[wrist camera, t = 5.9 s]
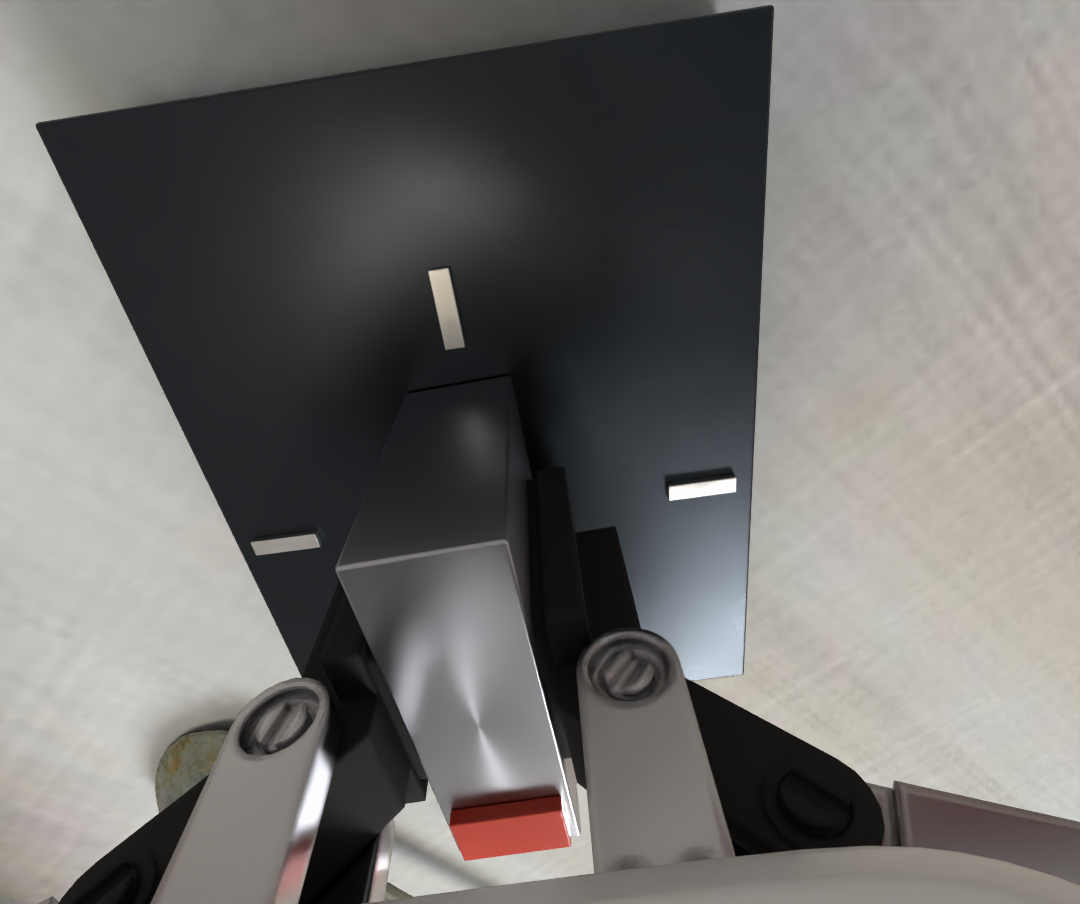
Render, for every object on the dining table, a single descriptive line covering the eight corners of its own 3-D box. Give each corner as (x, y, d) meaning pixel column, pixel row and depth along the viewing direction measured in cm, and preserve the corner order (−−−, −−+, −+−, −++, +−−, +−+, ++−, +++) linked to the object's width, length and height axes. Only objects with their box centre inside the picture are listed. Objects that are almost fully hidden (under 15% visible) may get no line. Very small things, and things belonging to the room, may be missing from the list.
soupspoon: (249, 673, 19) (140, 753, 21) (193, 774, 16) (73, 856, 18) (653, 934, 27) (543, 973, 29) (665, 1035, 24) (542, 1070, 26)
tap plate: (128, 122, 11) (24, 122, 9) (721, 28, 11) (779, 1, 8) (348, 652, 18) (323, 732, 15) (715, 606, 17) (746, 680, 15)
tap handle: (405, 392, 11) (327, 583, 6) (510, 374, 11) (507, 554, 6) (476, 624, 14) (457, 869, 9) (560, 611, 14) (582, 852, 9)
